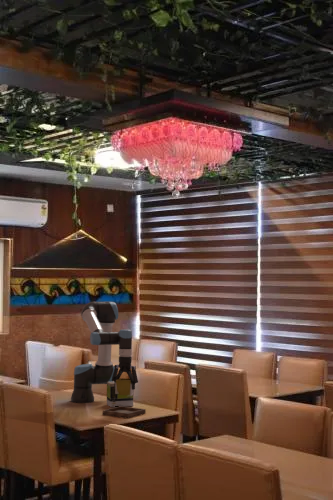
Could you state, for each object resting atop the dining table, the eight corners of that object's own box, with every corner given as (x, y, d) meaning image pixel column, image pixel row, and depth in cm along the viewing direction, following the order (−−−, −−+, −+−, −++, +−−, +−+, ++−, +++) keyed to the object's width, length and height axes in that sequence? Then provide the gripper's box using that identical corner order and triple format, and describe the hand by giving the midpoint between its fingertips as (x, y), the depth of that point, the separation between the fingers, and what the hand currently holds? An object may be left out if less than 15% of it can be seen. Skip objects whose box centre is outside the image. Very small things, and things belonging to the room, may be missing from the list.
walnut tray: (102, 414, 388) (102, 410, 388) (120, 410, 403) (120, 406, 403) (127, 418, 378) (128, 413, 378) (145, 413, 393) (145, 409, 394)
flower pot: (115, 395, 388) (115, 379, 388) (119, 393, 396) (119, 378, 397) (130, 396, 386) (130, 380, 386) (133, 393, 394) (133, 378, 395)
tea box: (129, 403, 426) (129, 380, 427) (133, 406, 417) (133, 382, 418) (106, 404, 422) (106, 381, 422) (109, 407, 412) (110, 383, 413)
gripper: (105, 355, 395) (105, 393, 394) (137, 357, 383) (136, 397, 382) (113, 354, 402) (112, 391, 400) (144, 356, 390) (144, 395, 388)
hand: (124, 394), depth 391 cm, fingers closed on flower pot, 10 cm apart
